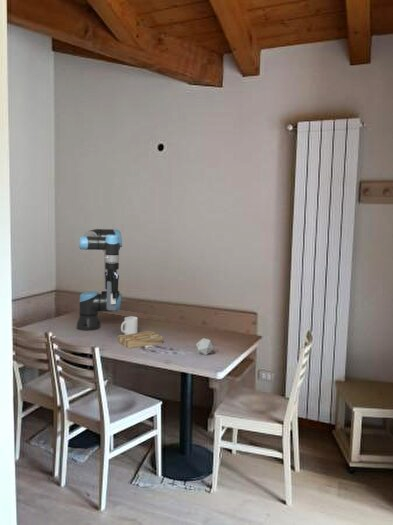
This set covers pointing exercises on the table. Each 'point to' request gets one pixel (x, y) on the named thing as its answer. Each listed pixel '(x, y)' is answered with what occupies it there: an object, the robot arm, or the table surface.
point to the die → (204, 346)
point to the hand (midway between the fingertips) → (111, 303)
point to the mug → (130, 325)
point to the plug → (109, 297)
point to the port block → (140, 339)
